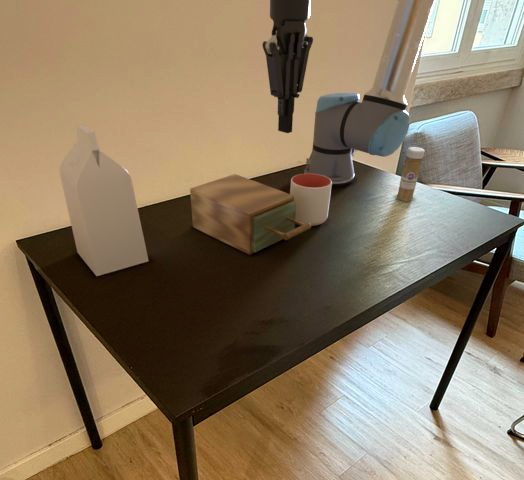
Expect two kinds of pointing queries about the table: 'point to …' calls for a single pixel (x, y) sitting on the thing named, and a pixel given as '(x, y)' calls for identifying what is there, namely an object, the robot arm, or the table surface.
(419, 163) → the sprinkles bottle
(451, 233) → the table surface
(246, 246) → the cabinet
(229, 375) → the table surface
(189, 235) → the table surface
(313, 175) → the cup
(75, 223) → the milk
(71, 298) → the table surface
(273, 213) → the drawer
